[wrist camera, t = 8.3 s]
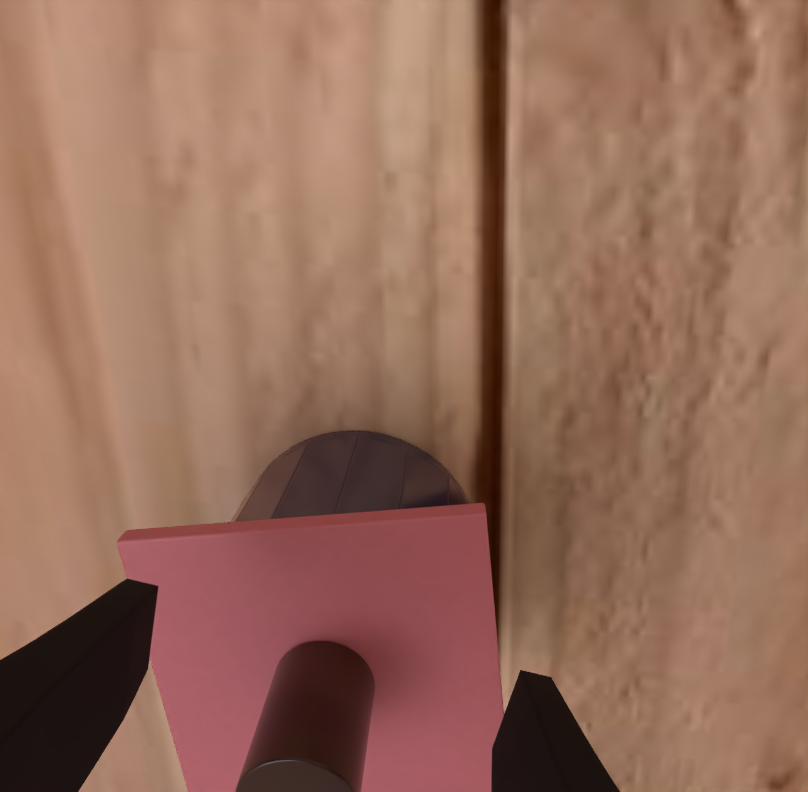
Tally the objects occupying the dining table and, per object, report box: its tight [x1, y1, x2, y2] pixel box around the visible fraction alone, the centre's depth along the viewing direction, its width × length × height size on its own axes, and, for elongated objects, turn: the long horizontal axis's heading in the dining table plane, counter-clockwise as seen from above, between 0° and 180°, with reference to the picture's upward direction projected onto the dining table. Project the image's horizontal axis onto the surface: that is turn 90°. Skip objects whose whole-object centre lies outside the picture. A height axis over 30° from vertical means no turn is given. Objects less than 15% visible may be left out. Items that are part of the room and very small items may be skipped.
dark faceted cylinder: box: [230, 431, 469, 522], centre depth 21 cm, size 8×8×6 cm
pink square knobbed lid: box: [117, 503, 504, 792], centre depth 16 cm, size 9×9×4 cm
